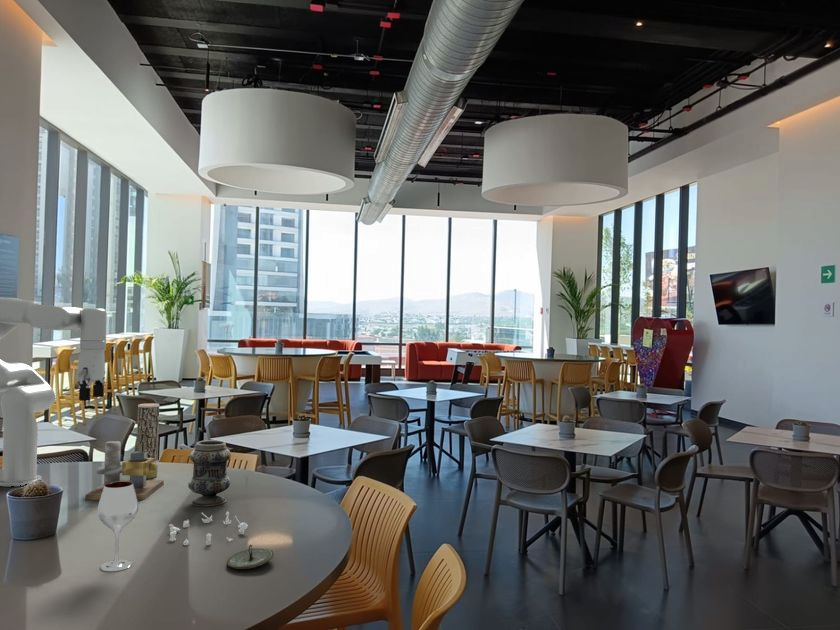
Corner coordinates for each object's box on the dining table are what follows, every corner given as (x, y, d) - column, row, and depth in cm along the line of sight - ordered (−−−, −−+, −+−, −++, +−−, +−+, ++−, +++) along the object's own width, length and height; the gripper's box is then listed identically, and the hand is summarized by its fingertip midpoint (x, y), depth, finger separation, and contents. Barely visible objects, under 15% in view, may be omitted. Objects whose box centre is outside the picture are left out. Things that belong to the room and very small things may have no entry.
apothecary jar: (236, 497, 196) (237, 439, 196) (220, 509, 184) (221, 446, 184) (198, 495, 197) (200, 437, 197) (180, 506, 185) (182, 445, 185)
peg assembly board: (83, 499, 190) (85, 448, 190) (109, 484, 208) (110, 437, 208) (144, 500, 191) (145, 448, 191) (164, 484, 209) (165, 437, 209)
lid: (279, 573, 142) (284, 550, 143) (240, 573, 135) (246, 549, 137) (255, 562, 150) (259, 540, 151) (217, 561, 143) (222, 538, 144)
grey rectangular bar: (129, 488, 198) (130, 453, 198) (132, 486, 201) (133, 451, 201) (143, 488, 199) (144, 453, 199) (145, 485, 202) (146, 451, 202)
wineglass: (125, 556, 146) (128, 478, 146) (143, 565, 141) (145, 484, 141) (89, 566, 140) (91, 484, 140) (106, 576, 134) (108, 491, 135)
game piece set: (261, 527, 170) (261, 512, 170) (218, 552, 151) (218, 536, 151) (198, 519, 175) (199, 505, 175) (149, 543, 156) (149, 527, 156)
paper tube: (135, 475, 220) (137, 403, 220) (156, 474, 223) (158, 403, 223) (136, 480, 214) (138, 406, 214) (157, 478, 217) (159, 405, 217)
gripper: (93, 344, 215) (91, 395, 214) (68, 346, 197) (66, 401, 197) (115, 345, 215) (114, 395, 215) (92, 347, 198) (91, 402, 198)
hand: (91, 398), depth 206 cm, fingers open, 9 cm apart
